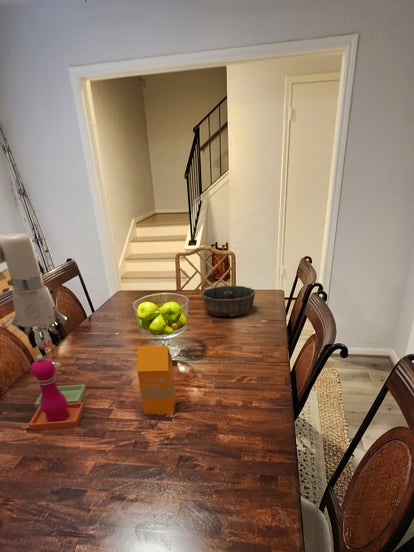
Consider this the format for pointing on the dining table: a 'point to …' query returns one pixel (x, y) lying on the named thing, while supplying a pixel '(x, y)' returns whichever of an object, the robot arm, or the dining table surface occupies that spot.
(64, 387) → the sage tray
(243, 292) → the bundt pan
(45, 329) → the wineglass
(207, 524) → the dining table surface
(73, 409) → the terracotta tray
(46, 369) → the pepper mill
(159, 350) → the orange juice
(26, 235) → the robot arm
